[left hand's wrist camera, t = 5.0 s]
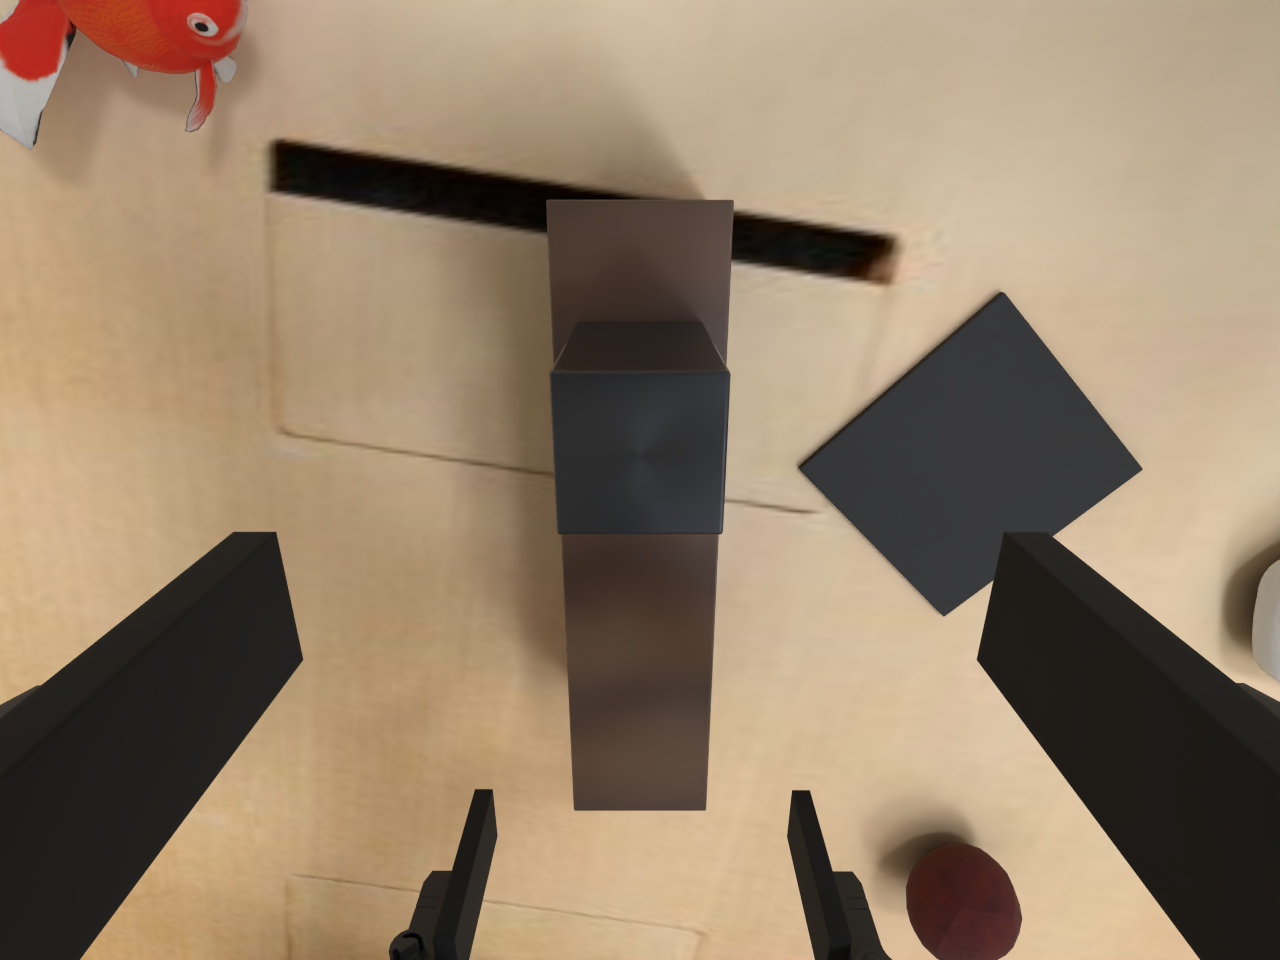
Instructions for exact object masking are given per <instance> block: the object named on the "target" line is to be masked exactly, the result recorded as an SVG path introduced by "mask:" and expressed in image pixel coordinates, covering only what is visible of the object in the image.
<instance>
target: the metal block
mask: <svg viewBox="0 0 1280 960" xmlns="http://www.w3.org/2000/svg"><path fill="white" fill-rule="evenodd" d="M550 393H551V414H552V435H553V456H554V477H555V497H556V518H557V532H558V534H722V532H723V518H724V497H725V476H726V455H727V435H728V414H729V393H730V372H729V370H728V368H727V366H726V364H725V363H724V361H723V359H722V357H721V355H720V353H719V352H718V350H717V348H716V346H715V344H714V342H713V341H712V339H711V337H710V335H709V333H708V332H707V330H706V328H705V326H704V324H703V323H702V322H578V323H577V324H576V326H575V328H574V330H573V332H572V333H571V335H570V337H569V339H568V341H567V342H566V344H565V346H564V348H563V350H562V352H561V353H560V355H559V357H558V359H557V361H556V362H555V364H554V366H553V368H552V370H551V372H550Z"/></svg>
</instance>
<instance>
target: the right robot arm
mask: <svg viewBox="0 0 1280 960" xmlns="http://www.w3.org/2000/svg"><path fill="white" fill-rule="evenodd" d="M787 838H788V843H789V847H790V851H791V856H792V860H793V865H794V869H795V873H796V878H797V882H798V887H799V891H800V895H801V900H802V904H803V909H804V913H805V917H806V922H807V926H808V931H809V935H810V939H811V944H812V948H813V953H814V957H815V960H892V959H891V958H890V957H889V956H888V955H887V954H886V953H885V951H884V950H883V948H882V946H881V943H880V940H879V937H878V934H877V931H876V928H875V924H874V921H873V918H872V915H871V912H870V909H869V906H868V903H867V900H866V896H865V893H864V890H863V887H862V884H861V882H860V881H859V880H858V878H857V877H856V876H855V874H854V873H853V872H833V871H832V868H831V864H830V860H829V857H828V853H827V850H826V846H825V843H824V839H823V836H822V832H821V829H820V825H819V822H818V818H817V815H816V811H815V807H814V804H813V800H812V797H811V793H810V790H792V797H791V806H790V815H789V825H788V834H787ZM496 840H497V827H496V817H495V808H494V798H493V789H475V792H474V795H473V799H472V802H471V806H470V809H469V813H468V816H467V820H466V823H465V827H464V830H463V834H462V837H461V841H460V844H459V848H458V851H457V855H456V858H455V862H454V865H453V869H452V871H432V872H431V873H430V875H429V876H428V877H427V879H426V880H425V881H424V883H423V886H422V889H421V892H420V895H419V898H418V901H417V905H416V908H415V911H414V914H413V917H412V920H411V923H410V926H409V929H408V930H406V931H403V932H401V933H400V934H399V935H398V936H396V937H395V938H394V940H393V941H392V943H391V945H390V949H389V955H390V960H469V957H470V953H471V949H472V944H473V940H474V936H475V931H476V927H477V922H478V918H479V914H480V909H481V905H482V901H483V896H484V892H485V888H486V883H487V879H488V875H489V870H490V866H491V861H492V857H493V853H494V848H495V844H496Z"/></svg>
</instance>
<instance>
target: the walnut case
mask: <svg viewBox="0 0 1280 960" xmlns="http://www.w3.org/2000/svg"><path fill="white" fill-rule="evenodd" d="M733 208H734V201H733V200H547V201H546V209H547V230H548V252H549V274H550V296H551V318H552V340H553V362H554V364H555V362H556V361H557V359H558V357H559V355H560V353H561V352H562V350H563V348H564V346H565V344H566V342H567V341H568V339H569V337H570V335H571V333H572V332H573V330H574V328H575V326H576V324H577V323H578V322H702V323H703V324H704V326H705V328H706V330H707V332H708V333H709V335H710V337H711V339H712V341H713V342H714V344H715V346H716V348H717V350H718V352H719V353H720V355H721V357H722V359H723V361H724V363H725V364H726V361H727V339H728V318H729V296H730V274H731V252H732V230H733ZM561 537H562V559H563V581H564V603H565V624H566V646H567V668H568V690H569V712H570V734H571V756H572V778H573V800H574V810H575V811H705V810H706V800H707V778H708V756H709V734H710V712H711V690H712V668H713V646H714V624H715V602H716V580H717V559H718V537H719V534H561Z"/></svg>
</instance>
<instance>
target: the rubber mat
mask: <svg viewBox="0 0 1280 960" xmlns="http://www.w3.org/2000/svg"><path fill="white" fill-rule="evenodd" d="M799 469H800V470H801V471H802V472H803V473H804V474H805V475H806V476H807V477H808V478H809V479H810V481H811V482H812V483H813V484H814V485H815V486H816V487H817V488H818V489H819V490H820V491H821V492H822V493H823V494H824V495H825V496H826V497H827V498H828V499H829V500H830V501H831V502H832V503H833V504H834V505H835V506H836V507H837V508H838V509H839V510H840V511H841V512H842V513H843V514H844V515H845V516H846V517H847V518H848V519H849V520H850V521H851V522H852V523H853V524H854V526H855V527H856V528H857V529H858V530H859V531H860V532H861V533H862V534H863V535H864V536H865V537H866V538H867V539H868V540H869V541H870V542H871V543H872V544H873V545H874V546H875V547H876V548H877V549H878V550H879V551H880V552H881V553H882V554H883V555H884V556H885V557H886V558H887V559H888V560H889V561H890V562H891V563H892V564H893V565H894V566H895V567H896V568H897V569H898V570H899V572H900V573H901V574H902V575H903V576H904V577H905V578H906V579H907V580H908V581H909V582H910V583H911V584H912V585H913V586H914V587H915V588H916V589H917V590H918V591H919V592H920V593H921V594H922V595H923V596H924V597H925V598H926V599H927V600H928V601H929V602H930V603H931V604H932V605H933V606H934V607H935V608H936V609H937V610H938V611H939V612H940V613H941V614H942V615H943V616H946V615H947V614H948V613H950V612H951V611H952V610H954V609H955V608H956V607H958V606H959V605H960V604H962V603H963V602H965V601H966V600H967V599H969V598H970V597H971V596H973V595H974V594H975V593H977V592H978V591H979V590H981V589H982V588H983V587H985V586H986V585H987V584H989V583H990V582H992V581H993V580H994V576H995V572H996V567H997V562H998V557H999V553H1000V548H1001V543H1002V538H1003V534H1004V532H1047V533H1048V534H1050V535H1051V536H1054V535H1055V534H1056V533H1058V532H1059V531H1060V530H1062V529H1063V528H1064V527H1066V526H1067V525H1069V524H1070V523H1071V522H1073V521H1074V520H1075V519H1077V518H1078V517H1079V516H1081V515H1082V514H1083V513H1085V512H1086V511H1087V510H1089V509H1090V508H1091V507H1093V506H1094V505H1096V504H1097V503H1098V502H1100V501H1101V500H1102V499H1104V498H1105V497H1106V496H1108V495H1109V494H1110V493H1112V492H1113V491H1114V490H1116V489H1117V488H1118V487H1120V486H1121V485H1123V484H1124V483H1125V482H1127V481H1128V480H1129V479H1131V478H1132V477H1133V476H1135V475H1136V474H1137V473H1139V472H1140V471H1141V470H1143V469H1142V468H1141V466H1140V465H1139V464H1138V462H1137V461H1136V460H1135V459H1134V457H1133V456H1132V455H1131V453H1130V452H1129V451H1128V450H1127V448H1126V447H1125V446H1124V445H1123V443H1122V442H1121V441H1120V439H1119V438H1118V437H1117V436H1116V434H1115V433H1114V432H1113V431H1112V429H1111V428H1110V427H1109V425H1108V424H1107V423H1106V422H1105V420H1104V419H1103V418H1102V417H1101V415H1100V414H1099V413H1098V411H1097V410H1096V409H1095V408H1094V406H1093V405H1092V404H1091V403H1090V401H1089V400H1088V399H1087V397H1086V396H1085V395H1084V394H1083V392H1082V391H1081V390H1080V389H1079V387H1078V386H1077V385H1076V383H1075V382H1074V381H1073V380H1072V378H1071V377H1070V376H1069V375H1068V373H1067V372H1066V371H1065V369H1064V368H1063V367H1062V366H1061V364H1060V363H1059V362H1058V361H1057V359H1056V358H1055V357H1054V355H1053V354H1052V353H1051V352H1050V350H1049V349H1048V348H1047V347H1046V345H1045V344H1044V343H1043V341H1042V340H1041V339H1040V338H1039V336H1038V335H1037V334H1036V333H1035V331H1034V330H1033V329H1032V327H1031V326H1030V325H1029V324H1028V322H1027V321H1026V320H1025V319H1024V317H1023V316H1022V315H1021V313H1020V312H1019V311H1018V310H1017V308H1016V307H1015V306H1014V304H1013V303H1012V302H1011V301H1010V299H1009V298H1008V297H1007V296H1006V294H1005V293H1003V292H1000V293H999V294H998V295H997V296H996V297H995V298H993V299H992V300H991V301H990V302H989V303H988V304H987V305H985V306H984V307H983V308H982V309H981V310H980V311H978V312H977V313H976V314H975V315H974V316H973V317H971V318H970V319H969V320H968V321H967V322H966V323H965V324H963V325H962V326H961V327H960V328H959V329H958V330H956V331H955V332H954V333H953V334H952V335H951V336H950V337H948V338H947V339H946V340H945V341H944V342H943V343H941V344H940V345H939V346H938V347H937V348H936V349H935V350H933V351H932V352H931V353H930V354H929V355H928V356H926V357H925V358H924V359H923V360H922V361H921V362H919V363H918V364H917V365H916V366H915V367H914V368H913V369H911V370H910V371H909V372H908V373H907V374H906V375H904V376H903V377H902V378H901V379H900V380H899V381H898V382H896V383H895V384H894V385H893V386H892V387H891V388H889V389H888V390H887V391H886V392H885V393H884V394H883V395H881V396H880V397H879V398H878V399H877V400H876V401H874V402H873V403H872V404H871V405H870V406H869V407H868V408H866V409H865V410H864V411H863V412H862V413H861V414H859V415H858V416H857V417H856V418H855V419H854V420H852V421H851V422H850V423H849V424H848V425H847V426H846V427H844V428H843V429H842V430H841V431H840V432H839V433H837V434H836V435H835V436H834V437H833V438H832V439H831V440H829V441H828V442H827V443H826V444H825V445H824V446H822V447H821V448H820V449H819V450H818V451H817V452H816V453H814V454H813V455H812V456H811V457H810V458H809V459H807V460H806V461H805V462H804V463H803V464H802V465H800V466H799Z"/></svg>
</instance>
